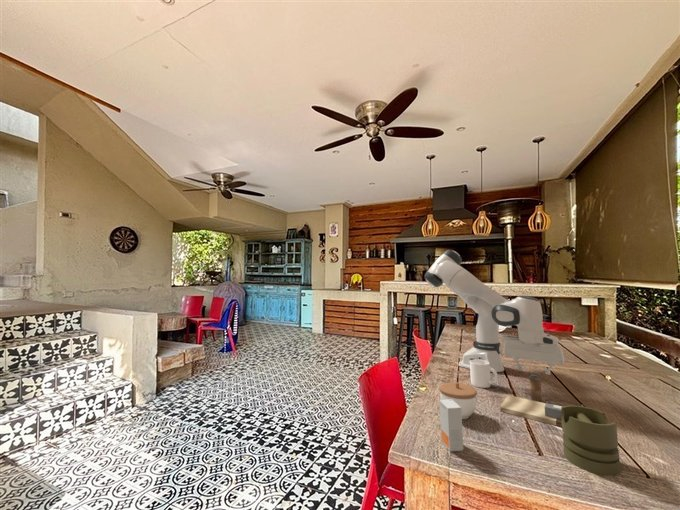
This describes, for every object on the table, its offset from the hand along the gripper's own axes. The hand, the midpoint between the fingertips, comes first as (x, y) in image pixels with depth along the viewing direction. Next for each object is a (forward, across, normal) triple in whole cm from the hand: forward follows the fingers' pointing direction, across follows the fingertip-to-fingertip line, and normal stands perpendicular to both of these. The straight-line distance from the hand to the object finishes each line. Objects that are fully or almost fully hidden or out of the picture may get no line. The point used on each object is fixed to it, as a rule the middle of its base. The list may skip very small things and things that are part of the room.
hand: (533, 371), depth 115 cm
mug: (+11, -20, +4) cm, 23 cm away
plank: (+11, +4, -12) cm, 16 cm away
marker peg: (+11, 0, 0) cm, 11 cm away
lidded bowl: (+11, -19, -31) cm, 38 cm away
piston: (+12, +17, -35) cm, 41 cm away
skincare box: (+12, -14, -52) cm, 55 cm away
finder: (+10, +8, -14) cm, 19 cm away
